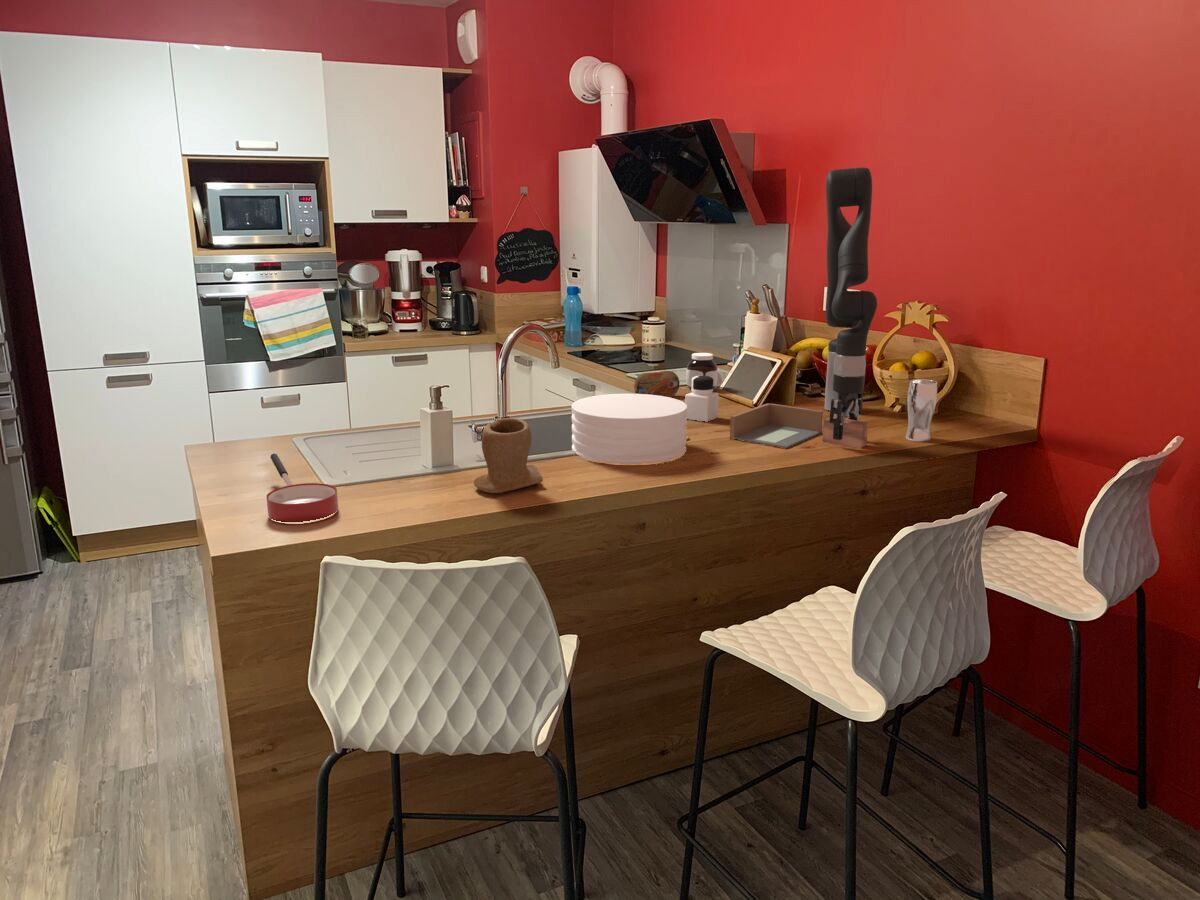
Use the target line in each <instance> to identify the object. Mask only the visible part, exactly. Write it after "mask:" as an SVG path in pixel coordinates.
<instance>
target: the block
mask: <svg viewBox="0 0 1200 900" xmlns="http://www.w3.org/2000/svg"><path fill="white" fill-rule="evenodd" d="M833 418H834V417H833ZM829 420H830V416H829V417H827V418H824V419H823V425H822V441H823V442H822V443H825V442H829V443H828V444H831V443H834V444H833V445H837V444H839V446H843V445H844V447H848V448H849V447H850V448H855V449H856V448H857V449H862V448H863V447H865V446H867V445H868V444H867V443H868V431H869V422H868V421H862V420H858V419H857V420H850V419H848V418H845V421H844V423H843V437H842V439H841V440H835V439H833V428H834V424H832V423H830V422H829Z"/></svg>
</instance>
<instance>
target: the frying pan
mask: <svg viewBox="0 0 1200 900" xmlns="http://www.w3.org/2000/svg"><path fill="white" fill-rule="evenodd" d="M270 459H271V461H272V464H273V465H274V467H275V469H276V471H277V472H278V474H279V476H280V478H281V479H283V481H284V483H285V484H286V486H281V487H278V488H276V489H274V490H271V491H270V492H268V493H267V494H266V496H265V497H266V507H267V517H268V516H269V517H270V518H271V519H273V520H276V521H281V522H303V521H310V520H316V519H320V518H324V517H327V516H329V515H331V514H333V513H335V512H336V511H337V510H338V511H339V500H338V498H339V497H338V489H337V487H335V486H333V485H330V484H328V483H327V484H326V483H320V482H319V483H318V482H315V483H314V482H312V483H311V482H309V483H297V484H293V482H292V481H291V480H290V477H289V474H288V471H287V469H286V468H285V465H284V463H282V461H281V458H280V457H279V456H278V454H277V453H272V454H271V455H270ZM338 511H337V512H338ZM269 517H268V518H269ZM270 518H269V519H270Z"/></svg>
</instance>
